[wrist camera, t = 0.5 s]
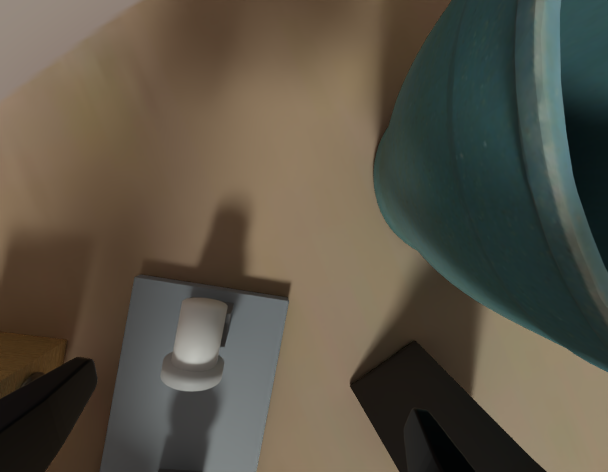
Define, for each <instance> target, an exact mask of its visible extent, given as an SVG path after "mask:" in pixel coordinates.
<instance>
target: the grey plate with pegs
mask: <svg viewBox="0 0 608 472" xmlns="http://www.w3.org/2000/svg"><path fill="white" fill-rule="evenodd" d="M288 304H289V300H288V297H281V296H275V295H269V294H262V293H256V292H249V291H243V290H237V289H230V288H224V287H217V286H211V285H205V284H198V283H192V282H185V281H179V280H173V279H166V278H160V277H153V276H147V275H138V276H136V277H134V283H133V288H132V294H131V300H130V305H129V311H128V316H127V322H126V328H125V333H124V339H123V344H122V350H121V355H120V361H119V367H118V372H117V378H116V383H115V389H114V395H113V400H112V406H111V411H110V417H109V422H108V428H107V434H106V439H105V445H104V450H103V456H102V462H101V467H100V472H256V471H257V466H258V460H259V455H260V450H261V445H262V439H263V434H264V429H265V424H266V419H267V413H268V408H269V403H270V398H271V392H272V387H273V382H274V377H275V372H276V366H277V361H278V356H279V351H280V346H281V340H282V335H283V330H284V325H285V319H286V314H287V309H288Z"/></svg>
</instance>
